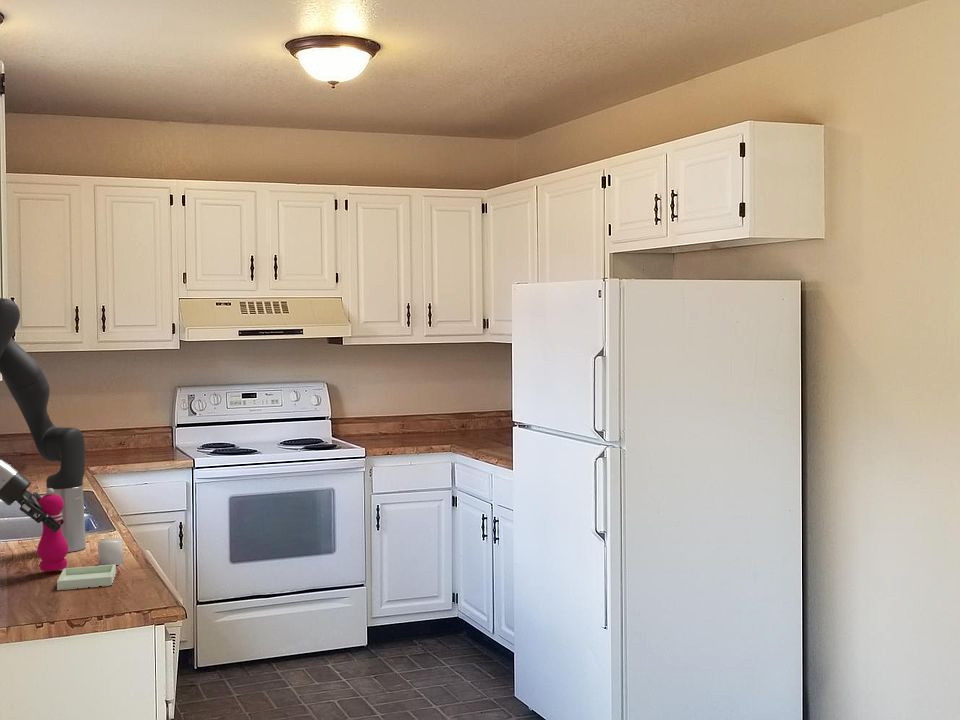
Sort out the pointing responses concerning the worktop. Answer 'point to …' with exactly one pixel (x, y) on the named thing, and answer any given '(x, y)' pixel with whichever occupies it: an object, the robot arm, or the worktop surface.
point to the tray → (86, 577)
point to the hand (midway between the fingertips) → (59, 526)
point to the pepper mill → (52, 535)
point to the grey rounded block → (110, 552)
